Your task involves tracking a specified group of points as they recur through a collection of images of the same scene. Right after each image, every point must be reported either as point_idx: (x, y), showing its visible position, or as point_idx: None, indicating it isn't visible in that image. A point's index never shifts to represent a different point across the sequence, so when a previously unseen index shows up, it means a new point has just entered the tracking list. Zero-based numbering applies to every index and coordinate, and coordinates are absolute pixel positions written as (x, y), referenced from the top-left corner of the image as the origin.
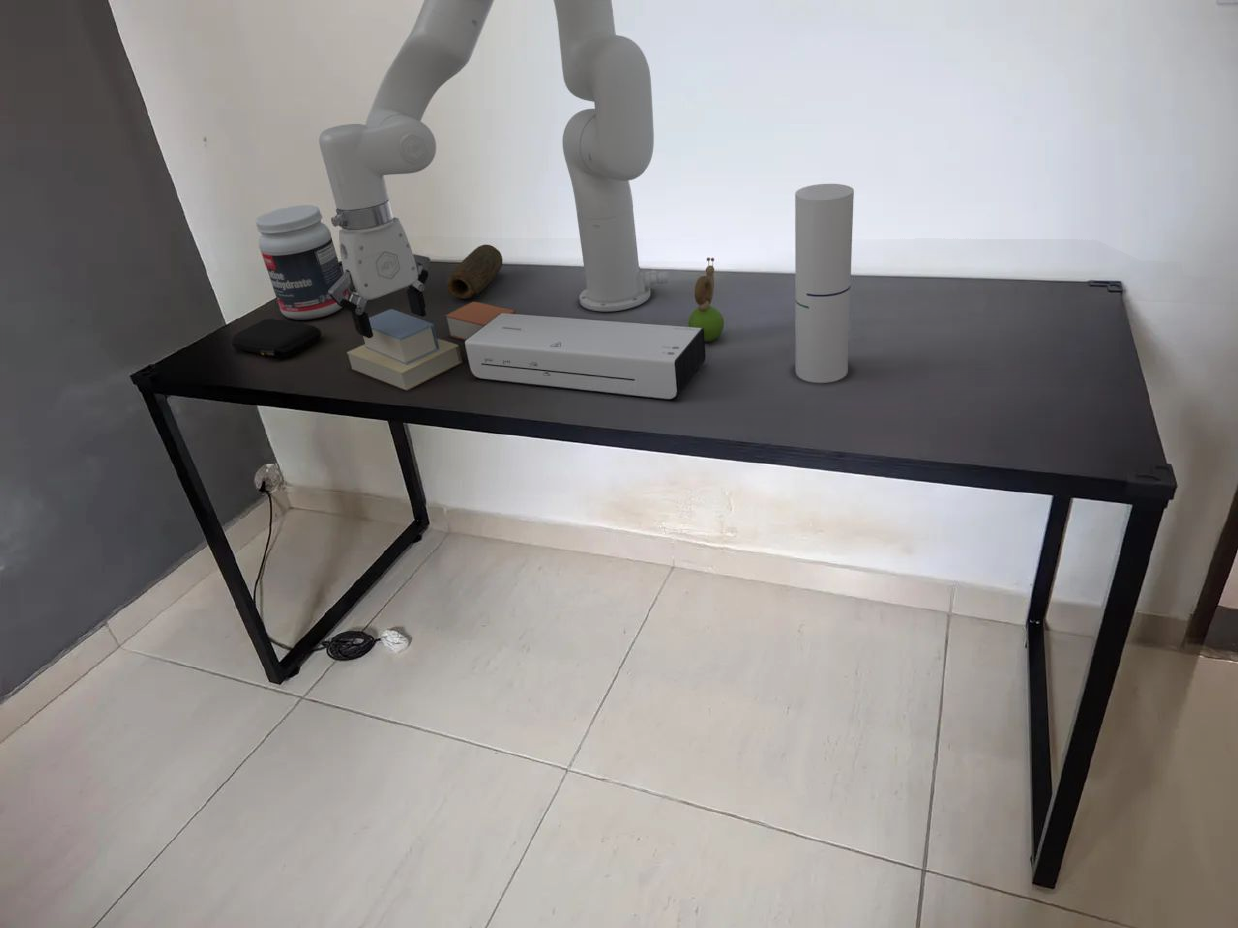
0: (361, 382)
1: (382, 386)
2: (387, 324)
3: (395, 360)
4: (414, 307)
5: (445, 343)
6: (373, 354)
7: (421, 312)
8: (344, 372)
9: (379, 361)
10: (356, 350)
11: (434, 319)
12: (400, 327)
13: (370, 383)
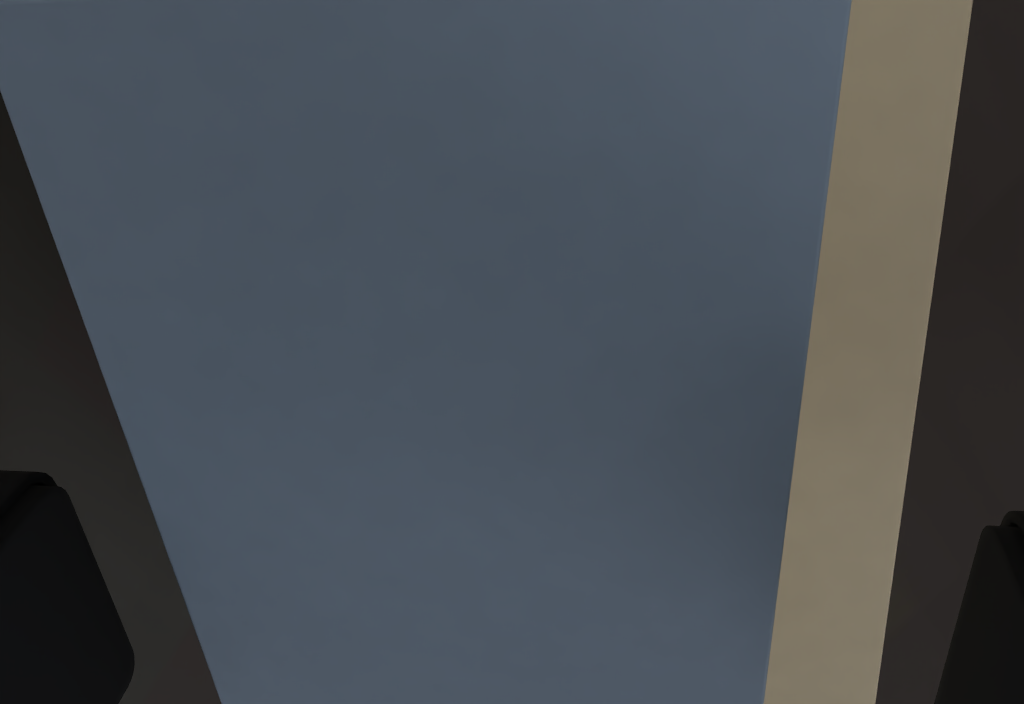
0: (994, 336)
1: (973, 77)
2: (564, 649)
3: None
4: (48, 681)
5: None
6: None
7: (14, 523)
8: (910, 588)
9: (876, 308)
10: (800, 677)
11: None
12: (503, 414)
13: (973, 247)
